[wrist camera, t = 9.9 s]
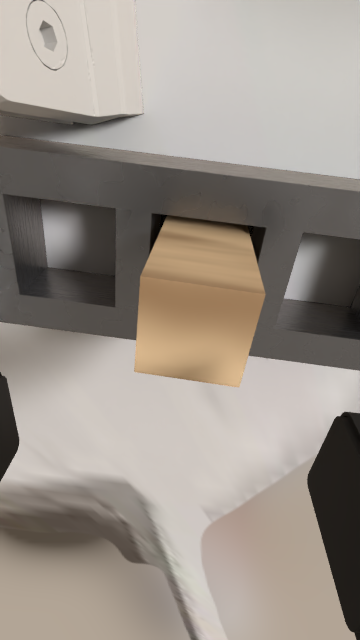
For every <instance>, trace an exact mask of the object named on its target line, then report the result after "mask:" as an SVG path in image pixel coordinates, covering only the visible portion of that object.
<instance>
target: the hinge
mask: <svg viewBox="0 0 360 640" xmlns="http://www.w3.org/2000/svg"><path fill="white" fill-rule="evenodd" d="M140 114H144V111H143V98H142V85H141V72H140V58H139V45H138V32H137V19H136V5H135V0H0V115H5V116H12V117H19V118H26V119H33V120H41V121H48V122H55V123H62V124H69V125H73V122H79V123H85V124H92V125H93V124H97V123H100V122H104V121H107V120H111V119H114V118H118V117H125V116H136V115H140Z"/></svg>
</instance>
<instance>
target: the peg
mask: <svg viewBox="0 0 360 640" xmlns="http://www.w3.org/2000/svg"><path fill="white" fill-rule="evenodd" d="M265 295H266V294H265V290H264V287H263V283H262V279H261V275H260V271H259V268H258V264H257V260H256V256H255V253H254V249H253V245H252V241H251V237H250V234H249V230H248V226H247V225H242V224H234V223H227V222H219V221H211V220H203V219H195V218H188V217H180V216H172V215H167V217H166V219H165V221H164V224H163V226H162V228H161V230H160V233H159V235H158V237H157V240H156V242H155V244H154V246H153V249H152V251H151V253H150V255H149V258H148V260H147V262H146V264H145V267H144V269H143V271H142V274H141V276H140V290H139V306H138V322H137V338H136V354H135V370H134V372H139V373H146V374H152V375H159V376H166V377H172V378H179V379H186V380H192V381H199V382H206V383H212V384H219V385H226V386H232V387H239V386H240V383H241V379H242V376H243V372H244V369H245V365H246V362H247V358H248V355H249V351H250V347H251V344H252V340H253V337H254V333H255V330H256V326H257V323H258V319H259V316H260V312H261V309H262V305H263V302H264V298H265Z"/></svg>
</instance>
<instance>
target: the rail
mask: <svg viewBox="0 0 360 640" xmlns="http://www.w3.org/2000/svg"><path fill="white" fill-rule="evenodd" d="M40 199H47V200H54V201H62V202H70V203H78V204H86V205H94V206H101V207H109V208H116V271H115V276H108V275H101V274H93V273H86V272H78V271H70V270H63V269H55V268H48V266H47V258H46V249H45V240H44V231H43V222H42V213H41V204H40ZM161 214H164V215H172V216H180V217H188V218H195V219H203V220H211V221H219V222H227V223H234V224H242V225H250V226H254V228H253V233H252V238H251V241H252V245H253V249H254V253H255V256H256V260H257V264H258V268H259V271H260V275H261V279H262V283H263V287H264V290H265V294H266V295H265V298H264V302H263V305H262V309H261V312H260V316H259V319H258V323H257V326H256V330H255V333H254V337H253V340H252V344H251V347H250V351H249V356H256V357H264V358H271V359H279V360H286V361H293V362H301V363H308V364H315V365H323V366H330V367H338V368H345V369H352V370H360V286H359V288H358V291H357V293H356V295H355V298H354V300H353V302H352V305H351V307H344V306H336V305H328V304H321V303H313V302H306V301H298V300H290V299H283V298H284V295H285V292H286V288H287V285H288V282H289V278H290V275H291V272H292V268H293V265H294V262H295V258H296V255H297V252H298V248H299V245H300V242H301V238H302V235H303V232H305V233H313V234H321V235H328V236H336V237H344V238H352V239H360V180H359V179H351V178H343V177H335V176H327V175H319V174H311V173H303V172H295V171H287V170H279V169H271V168H262V167H254V166H246V165H238V164H230V163H222V162H214V161H206V160H198V159H190V158H182V157H174V156H166V155H158V154H150V153H142V152H134V151H126V150H117V149H109V148H101V147H93V146H85V145H77V144H69V143H61V142H53V141H45V140H37V139H29V138H21V137H13V136H5V135H4V136H0V322H5V323H13V324H20V325H28V326H35V327H42V328H50V329H57V330H64V331H72V332H79V333H87V334H94V335H101V336H109V337H116V338H124V339H131V340H136V338H137V322H138V306H139V290H140V276H141V274H142V271H143V269H144V267H145V264H146V262H147V260H148V258H149V255H150V253H151V251H152V249H153V246H154V244H155V242H156V240H157V237H158V235H159V233H160V220H161Z"/></svg>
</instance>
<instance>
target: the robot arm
mask: <svg viewBox="0 0 360 640" xmlns="http://www.w3.org/2000/svg"><path fill="white" fill-rule="evenodd" d="M18 446H19V436H18V431H17V426H16V421H15V417H14V412H13V407H12V402H11V397H10V393H9V388H8V383H7V379H6V377H5V376H2V375H1V372H0V481H1V479H2V478H3V476H4V474H5V472H6V470H7V469H8V467H9V465H10V463H11V461H12V459H13V458H14V456H15V454H16V452H17V450H18ZM307 480H308V489H309V492H310V496H311V499H312V503H313V507H314V510H315V513H316V517H317V521H318V525H319V528H320V532H321V535H322V539H323V543H324V546H325V550H326V553H327V557H328V561H329V564H330V568H331V572H332V575H333V579H334V582H335V586H336V590H337V593H338V597H339V600H340V604H341V607H342V611H343V615H344V618H345V622H346V624H347V626H348V628H349V630H350V631H352V632H354V633H355V636H356V639H357V640H360V413H351V412H344V413H342V415H341V416H337V417H336V418H335V419H334V421H333V424H332V426H331V428H330V430H329V432H328V434H327V436H326V438H325V440H324V442H323V444H322V446H321V449H320V451H319V453H318V455H317V457H316V459H315V461H314V463H313V465H312V467H311V470H310V471H309V474H308V479H307Z"/></svg>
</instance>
